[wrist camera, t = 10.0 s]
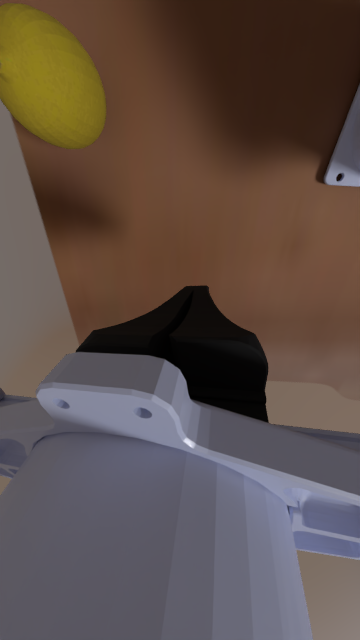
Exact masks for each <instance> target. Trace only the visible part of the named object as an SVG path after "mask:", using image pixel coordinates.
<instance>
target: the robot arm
mask: <svg viewBox="0 0 360 640" xmlns="http://www.w3.org/2000/svg"><path fill="white" fill-rule="evenodd" d="M340 173H341V174H342V178H341V179H340V180H339V181H336V177H337V175H338V174H340ZM323 180H324V183H325V184H327V185H340V186H358V187H360V84H359V86H358V89H357V92H356V94H355V97H354V100H353V102H352V105H351V107H350V110H349V113H348V115H347V118H346V121H345V123H344V126H343V128H342V131H341V134H340V136H339V139H338V141H337V144H336V147H335V149H334V152H333V155H332V157H331V160H330V162H329V165H328V168H327V170H326V173H325V175H324V179H323ZM267 375H268V363H267V359H266V356H265V353H264V351H263V349H262V346H261V344H260V342H259V340H258V339H257V337H256V335H255V334H254V333H252V332H250V331H247V330H245V329H243V328H241V327H239V326H237V325H236V324H234V323H233V322H231V321H230V320H229V319H227V318H226V317H225V316H224V315H223V314H222V313H221V312H220V311H219V309H218V308H217V307H216V305H215V304H214V302H213V300H212V298H211V296H210V294H209V287H208V286H186V287H184V288H183V289H182V290H180V291H179V292H178V293H177V294H176V295H174V296H173V297H172V298H171V299H169V300H168V301H166V302H165V303H164V304H162V305H161V306H159V307H158V308H156V309H154V310H152V311H150V312H149V313H147V314H145V315H142V316H140V317H138V318H135V319H133V320H130V321H127V322H125V323H121V324H118V325H115V326H111V327H107V328H102V329H98V330H93V331H92V332H91V334H90V335H89V336H88V337H87V338H86V339H85V341H84V342H83V343H82V344H81V345H80V346H79V348H78V349H77V350H76V352H75V353H72V354H68V355H66V356H65V357H64V358H63V359H62V360H61V361H60V362H59V363H58V365H56V366H55V368H54V369H53V370H52V371H51V372H50V373H49V374H48V375H47V376H46V378H45V379H44V380H43V381H42V382H41V383H40V384H39V387H38V388H37V390H36V396H37V398H31V397H22V396H13V395H5V393H4V391H3V390H2V389H1V388H0V475H1V476H4V477H8V478H10V479H12V480H11V481H10V482H9V484H8V485H7V487H6V488H5V489H4V491H3V492H2V494H1V495H0V640H313V637H312V631H311V626H310V621H309V616H308V610H307V605H306V599H305V594H304V589H303V584H302V578H301V573H300V568H299V563H298V557H297V552H296V550H302V551H308V552H314V553H320V554H327V555H332V556H339V557H345V558H351V559H357V560H360V434H356V433H348V432H338V431H330V430H320V429H311V428H302V427H293V426H284V425H275V424H270V423H269V422H268V416H267V411H266V405H265V404H266V395H265V386H266V381H267Z"/></svg>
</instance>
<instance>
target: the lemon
mask: <svg viewBox="0 0 360 640" xmlns="http://www.w3.org/2000/svg"><path fill="white" fill-rule="evenodd" d="M0 99H1V101H2V102H3V104H4V105H5V106H6V107H7V109H8V110H9V111H10V113H11V114H12V115H13V117H14V118H15V119H16V120H17V121H19V122H20V123H21V124H22V125H23V126H24V127H25V128H26V129H27V130H28V131H30V132H31V133H33V134H34V135H36V136H38V137H39V138H41V139H43V140H44V141H46V142H48V143H50V144H52V145H55V146H59V147H62V148H66V149H81V148H84V147H86V146H89V145H91V144H92V143H94V141H95V140H96V139H97V138H98V137H99V136H100V134H101V132H102V130H103V128H104V124H105V119H106V100H105V92H104V89H103V86H102V82H101V79H100V76H99V74H98V72H97V70H96V68H95V66H94V63H93V61H92V59H91V58H90V56H89V55H88V53H87V52H86V51H85V49H84V48H83V46H82V45H81V44H80V42H79V41H78V40H77V38H76V37H75V36H74V35H73V34H72V33H71V32H70V31H69V30H67V29H66V28H65V27H64V26H63V25H62V24H61V23H60V22H58V21H57V20H56V19H55V18H53V17H52V16H50V15H48V14H46V13H44V12H42V11H40V10H38V9H35V8H33V7H31V6H28V5H25V4H14V3H7V4H4V5H2V6H0Z"/></svg>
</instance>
